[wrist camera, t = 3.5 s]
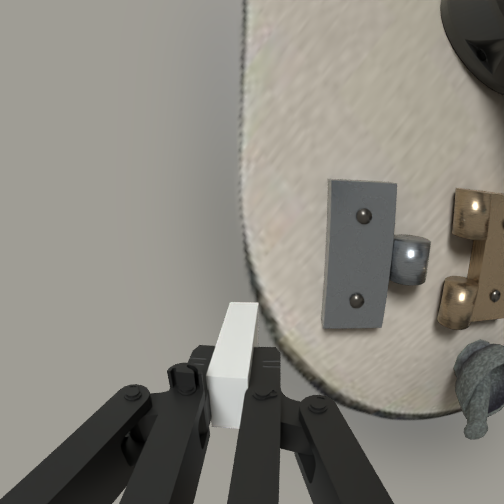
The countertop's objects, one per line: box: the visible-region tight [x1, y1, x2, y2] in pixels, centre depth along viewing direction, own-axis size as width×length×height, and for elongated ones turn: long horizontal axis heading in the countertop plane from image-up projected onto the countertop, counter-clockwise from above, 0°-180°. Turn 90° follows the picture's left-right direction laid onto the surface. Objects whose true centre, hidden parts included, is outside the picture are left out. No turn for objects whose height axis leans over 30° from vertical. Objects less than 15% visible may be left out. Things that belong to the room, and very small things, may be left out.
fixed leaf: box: [437, 188, 504, 330], centre depth 27 cm, size 14×10×4 cm
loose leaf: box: [321, 179, 431, 328], centre depth 28 cm, size 14×10×4 cm
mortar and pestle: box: [454, 340, 504, 439], centre depth 27 cm, size 11×9×12 cm
